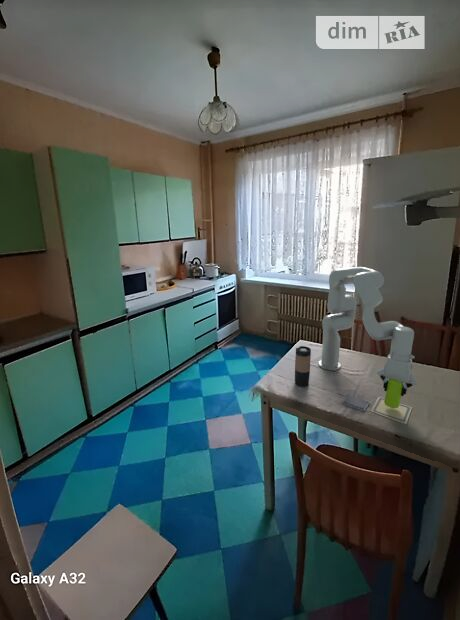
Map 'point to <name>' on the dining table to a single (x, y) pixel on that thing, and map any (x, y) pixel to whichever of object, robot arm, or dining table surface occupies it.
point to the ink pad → (356, 403)
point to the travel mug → (302, 366)
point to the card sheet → (392, 411)
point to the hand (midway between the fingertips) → (394, 392)
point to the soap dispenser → (393, 393)
